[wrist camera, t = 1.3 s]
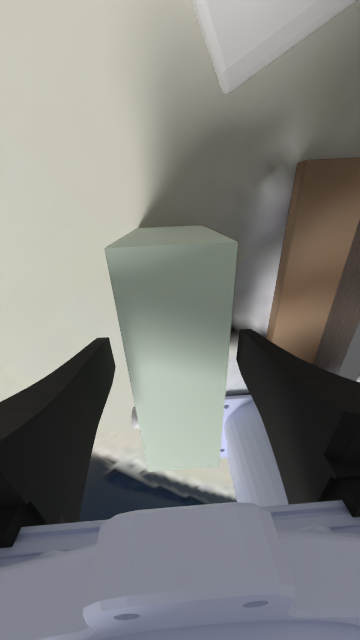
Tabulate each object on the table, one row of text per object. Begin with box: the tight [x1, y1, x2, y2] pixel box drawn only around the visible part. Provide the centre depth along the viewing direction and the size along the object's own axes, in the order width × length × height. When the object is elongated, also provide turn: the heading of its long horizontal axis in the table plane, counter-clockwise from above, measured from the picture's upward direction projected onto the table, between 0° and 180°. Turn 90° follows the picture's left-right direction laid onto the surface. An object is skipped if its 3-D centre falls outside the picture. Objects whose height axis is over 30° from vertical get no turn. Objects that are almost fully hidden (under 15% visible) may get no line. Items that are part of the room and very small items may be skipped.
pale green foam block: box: [104, 225, 238, 472], centre depth 13 cm, size 5×12×8 cm, turn 2°
